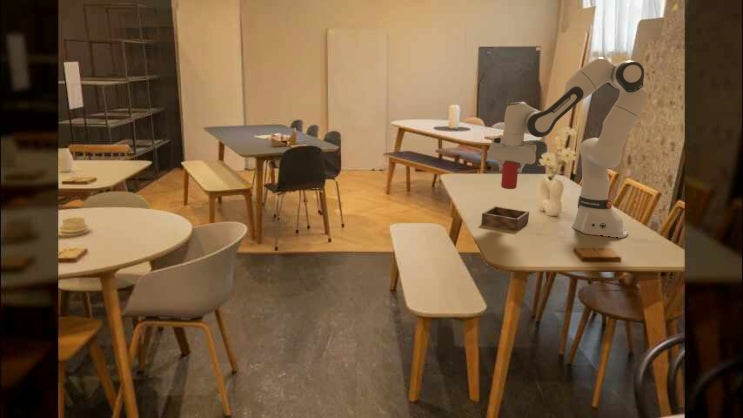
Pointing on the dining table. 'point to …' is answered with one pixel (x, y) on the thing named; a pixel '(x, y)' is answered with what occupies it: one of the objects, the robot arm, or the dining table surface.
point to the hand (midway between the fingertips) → (510, 171)
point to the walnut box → (505, 218)
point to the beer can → (509, 175)
